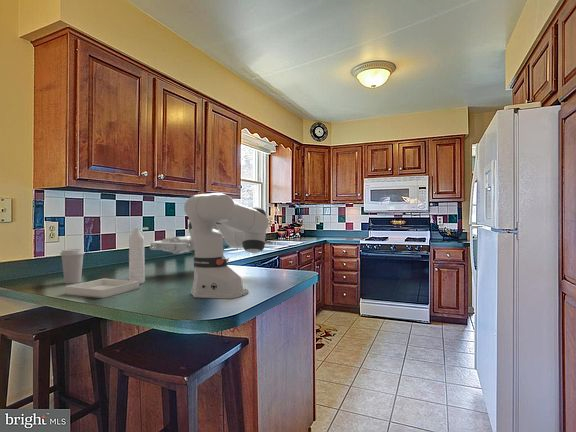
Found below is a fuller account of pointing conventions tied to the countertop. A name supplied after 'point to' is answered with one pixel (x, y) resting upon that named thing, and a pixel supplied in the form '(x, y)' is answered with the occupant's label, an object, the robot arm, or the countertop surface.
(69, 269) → the coffee cup
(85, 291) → the tray
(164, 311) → the countertop surface
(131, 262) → the water bottle
